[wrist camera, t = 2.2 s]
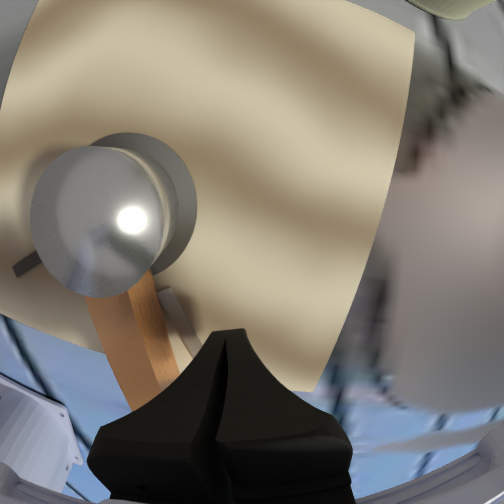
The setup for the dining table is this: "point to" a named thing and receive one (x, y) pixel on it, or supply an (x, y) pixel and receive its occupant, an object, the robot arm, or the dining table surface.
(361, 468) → the dining table surface
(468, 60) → the dining table surface
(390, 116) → the base plate
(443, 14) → the can
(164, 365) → the wooden handled dome
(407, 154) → the dining table surface
